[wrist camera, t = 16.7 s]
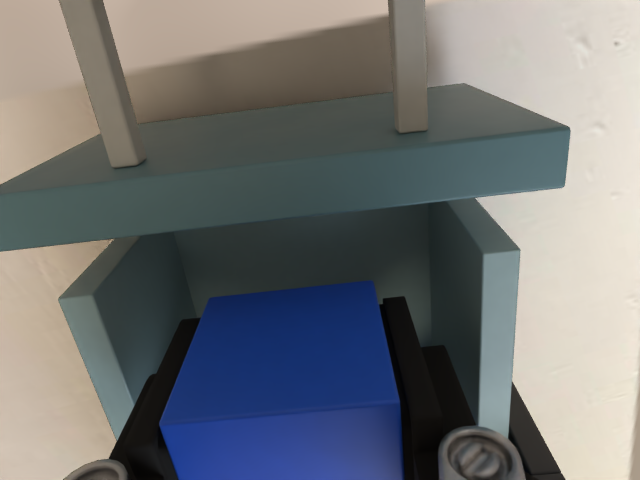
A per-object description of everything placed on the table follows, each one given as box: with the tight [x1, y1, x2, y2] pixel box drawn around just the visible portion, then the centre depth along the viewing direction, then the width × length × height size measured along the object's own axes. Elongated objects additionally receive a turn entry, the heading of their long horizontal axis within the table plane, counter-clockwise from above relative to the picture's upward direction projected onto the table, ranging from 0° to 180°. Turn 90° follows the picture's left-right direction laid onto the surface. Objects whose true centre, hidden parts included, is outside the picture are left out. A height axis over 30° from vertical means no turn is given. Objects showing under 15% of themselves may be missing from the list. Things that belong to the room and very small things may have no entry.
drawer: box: [0, 0, 570, 440], centre depth 14 cm, size 18×11×7 cm, turn 7°
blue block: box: [159, 280, 405, 480], centre depth 10 cm, size 4×4×4 cm
